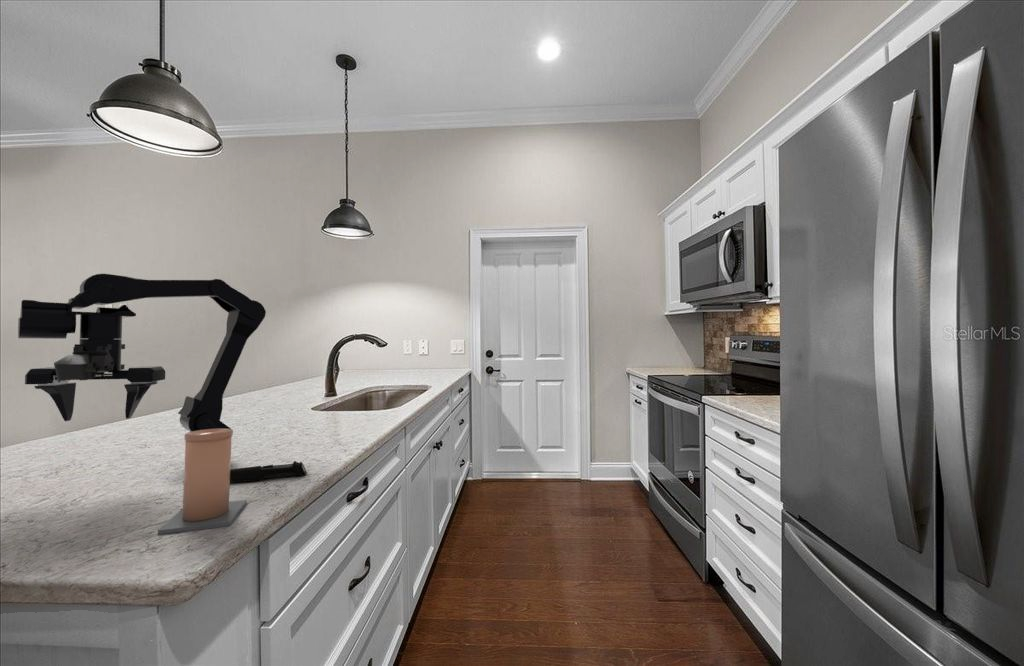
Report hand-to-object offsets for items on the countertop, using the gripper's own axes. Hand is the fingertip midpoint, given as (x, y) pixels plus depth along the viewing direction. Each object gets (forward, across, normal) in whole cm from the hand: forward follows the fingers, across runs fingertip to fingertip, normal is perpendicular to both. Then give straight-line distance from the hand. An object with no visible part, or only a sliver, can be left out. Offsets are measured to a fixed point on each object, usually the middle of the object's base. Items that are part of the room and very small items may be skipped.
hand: (98, 419), depth 78 cm
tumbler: (+12, +25, -22) cm, 35 cm away
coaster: (+13, +25, -22) cm, 36 cm away
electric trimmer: (+14, +30, -4) cm, 33 cm away
